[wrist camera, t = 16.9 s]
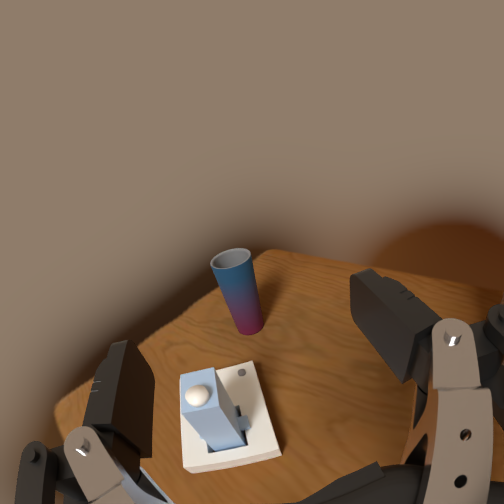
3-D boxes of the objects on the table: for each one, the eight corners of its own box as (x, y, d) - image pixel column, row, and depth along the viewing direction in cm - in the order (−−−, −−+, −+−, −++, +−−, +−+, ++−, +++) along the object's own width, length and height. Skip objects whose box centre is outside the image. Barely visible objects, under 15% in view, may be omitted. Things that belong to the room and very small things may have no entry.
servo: (205, 425, 33) (167, 372, 27) (249, 415, 33) (222, 359, 28) (209, 456, 28) (166, 411, 23) (257, 446, 29) (229, 398, 23)
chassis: (185, 387, 40) (178, 377, 39) (255, 370, 41) (251, 359, 40) (191, 473, 26) (182, 466, 24) (281, 455, 27) (278, 447, 25)
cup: (236, 316, 55) (215, 251, 49) (269, 313, 54) (253, 245, 47) (230, 339, 49) (205, 271, 43) (266, 337, 48) (247, 265, 41)
